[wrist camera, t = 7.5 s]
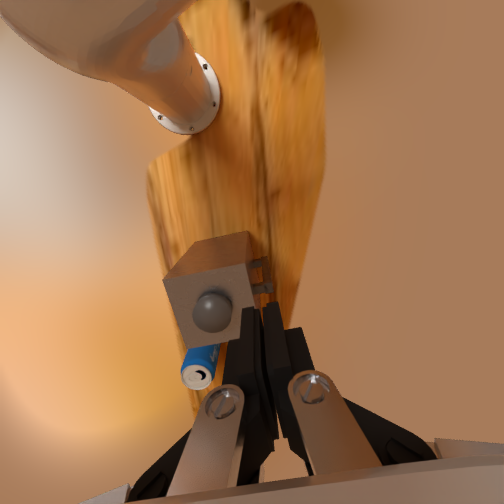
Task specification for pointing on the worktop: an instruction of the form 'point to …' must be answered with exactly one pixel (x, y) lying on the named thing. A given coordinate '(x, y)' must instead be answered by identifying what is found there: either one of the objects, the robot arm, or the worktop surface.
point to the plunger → (212, 313)
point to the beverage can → (200, 366)
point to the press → (216, 284)
